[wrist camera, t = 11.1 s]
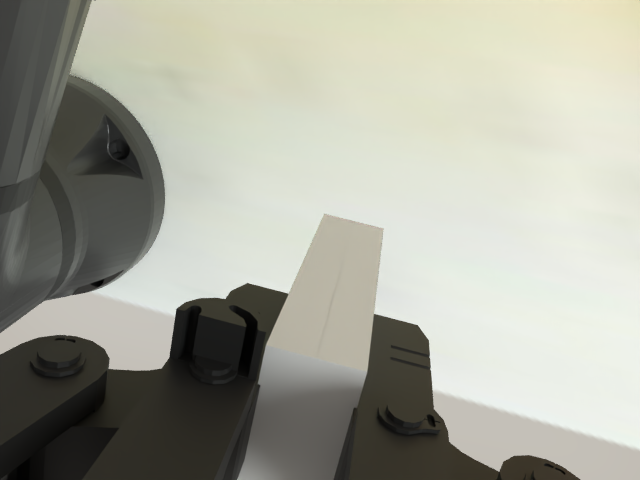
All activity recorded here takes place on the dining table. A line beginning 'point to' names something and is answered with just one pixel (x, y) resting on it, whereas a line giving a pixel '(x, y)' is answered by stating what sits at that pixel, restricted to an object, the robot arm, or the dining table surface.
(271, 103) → the dining table surface
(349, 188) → the dining table surface
